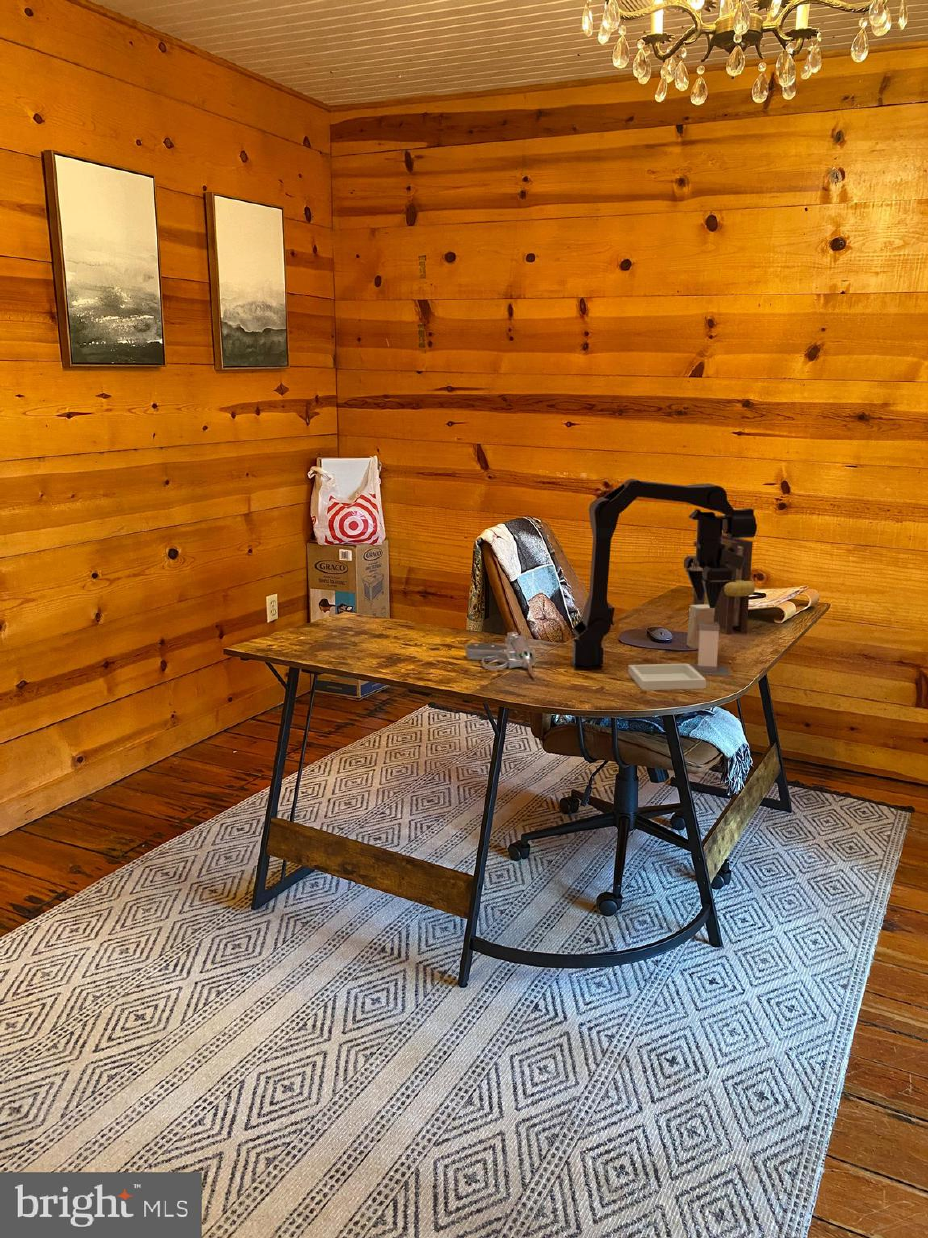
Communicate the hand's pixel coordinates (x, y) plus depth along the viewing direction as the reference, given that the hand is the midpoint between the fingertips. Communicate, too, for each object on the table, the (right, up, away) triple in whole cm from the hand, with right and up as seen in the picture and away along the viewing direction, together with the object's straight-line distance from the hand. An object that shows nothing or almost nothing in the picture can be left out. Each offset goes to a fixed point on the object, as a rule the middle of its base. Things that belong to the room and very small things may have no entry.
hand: (705, 603), depth 228 cm
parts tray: (-12, -18, -12) cm, 25 cm away
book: (+14, -6, +40) cm, 42 cm away
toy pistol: (-48, -15, +3) cm, 51 cm away
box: (+3, -11, +17) cm, 21 cm away
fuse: (-1, -15, -4) cm, 16 cm away
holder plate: (-1, -16, -4) cm, 16 cm away
